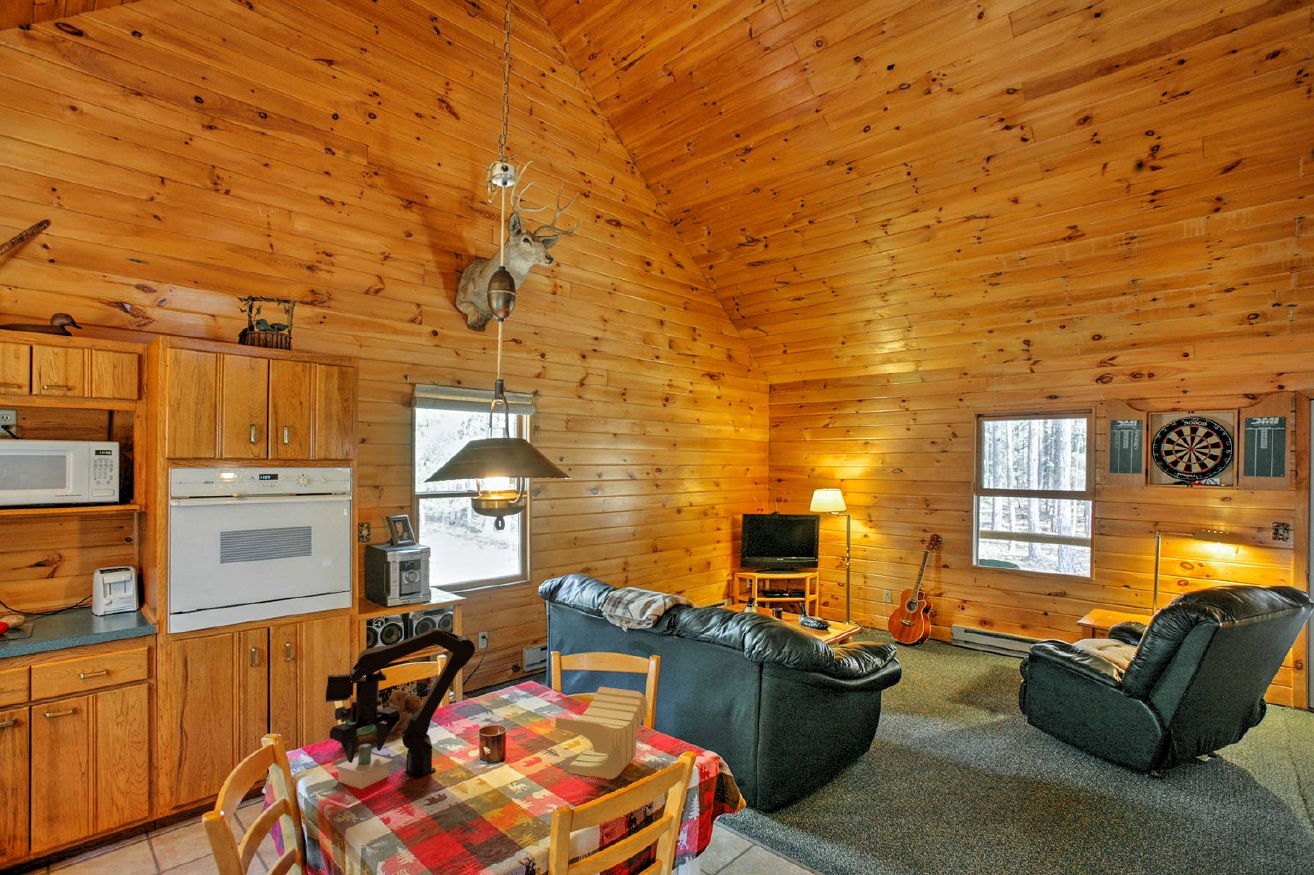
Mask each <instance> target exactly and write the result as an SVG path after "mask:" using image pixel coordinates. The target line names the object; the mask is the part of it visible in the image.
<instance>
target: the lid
mask: <svg viewBox="0 0 1314 875" xmlns="http://www.w3.org/2000/svg"><path fill="white" fill-rule="evenodd" d="M358 752H359V754H358V757H356V758H353V762H352V763H349V762H348V761H346V762H344V763H341V764H339V765H336V764H335V769H336V770H338V771H339V770H342V771H345V772H348V773H352V774H355V775H358V776H361V777H362V776H364V775H366V774H369V773H371V772H373V771H375V770H377V769H380V768H382V767H384V766H386V765H389V766H390V764H393V759H391V758H384V757H381V756H377V755H374V754H371V752H372V744H371V743H362V744H359V746H358Z"/></svg>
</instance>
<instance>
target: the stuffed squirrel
mask: <svg viewBox="0 0 1314 875" xmlns="http://www.w3.org/2000/svg"><path fill="white" fill-rule="evenodd" d="M423 702H424V700H423V699H420V697H419V696H417V695H411V694H410V691H406V692H405V691H403V690H399V689H394V688H392V689H391V694H390V696H389V699H387V700H386V701H385V702H384V703H383V705H385V708H387V704H388V706H389V707H388V708H390V709H394V710H398V711H399V713H400V721H398V722H395V723H396V725H395V726H394V727H393V728H392V730H391V732H390V733H395V734H396V735H398V736H402V733H401V732H402V724H403V723H404V722H405V721H406V719H407V717H408V714H409V713H412V714H413V715H414V714H415V713H416V712H417V711H418V710H419V709H420V707H421V705H422V704H423Z"/></svg>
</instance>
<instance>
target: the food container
mask: <svg viewBox="0 0 1314 875" xmlns="http://www.w3.org/2000/svg"><path fill="white" fill-rule="evenodd" d="M382 709H384V708H383V705H382V704H381V705H378V711H379V710H382ZM345 724H349V725H353V724H355V722H349V720H346V721H345ZM361 726H362V725H361ZM355 738H357V744H356V745H363V744H369V743H371V742H373V741H375V740H377V729H376V726H375V724H374V725H372V726H369V727H367V728H364V729H361V730H359V731H357V735H356V736H355Z"/></svg>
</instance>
